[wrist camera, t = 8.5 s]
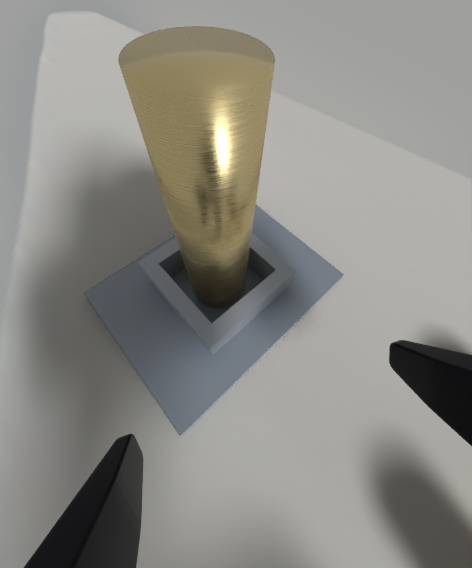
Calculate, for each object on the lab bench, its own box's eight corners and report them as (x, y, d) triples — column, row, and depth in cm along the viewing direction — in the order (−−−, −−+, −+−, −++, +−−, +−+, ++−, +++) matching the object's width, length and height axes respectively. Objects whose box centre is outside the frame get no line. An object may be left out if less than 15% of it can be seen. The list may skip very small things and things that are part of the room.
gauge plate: (181, 434, 14) (169, 443, 11) (88, 296, 17) (61, 276, 15) (340, 278, 19) (359, 257, 16) (241, 198, 23) (243, 170, 20)
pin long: (232, 316, 16) (242, 109, 5) (183, 296, 17) (83, 70, 5) (251, 271, 18) (292, 41, 6) (206, 255, 19) (168, 18, 7)
